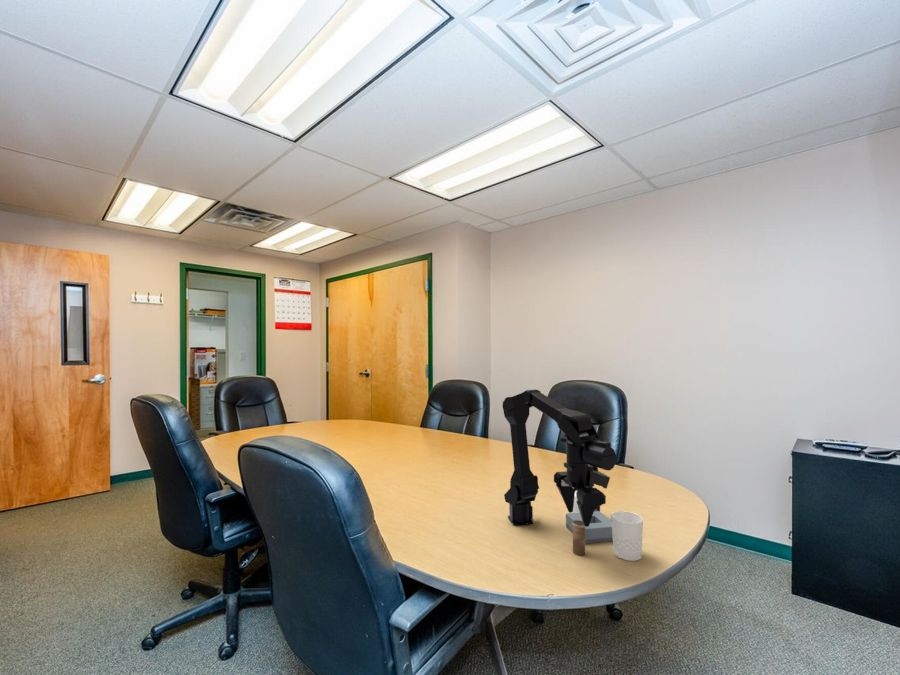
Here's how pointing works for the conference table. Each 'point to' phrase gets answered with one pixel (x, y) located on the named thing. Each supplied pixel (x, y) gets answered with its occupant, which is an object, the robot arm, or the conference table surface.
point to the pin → (578, 538)
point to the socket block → (593, 527)
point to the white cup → (627, 535)
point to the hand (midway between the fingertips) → (578, 518)
